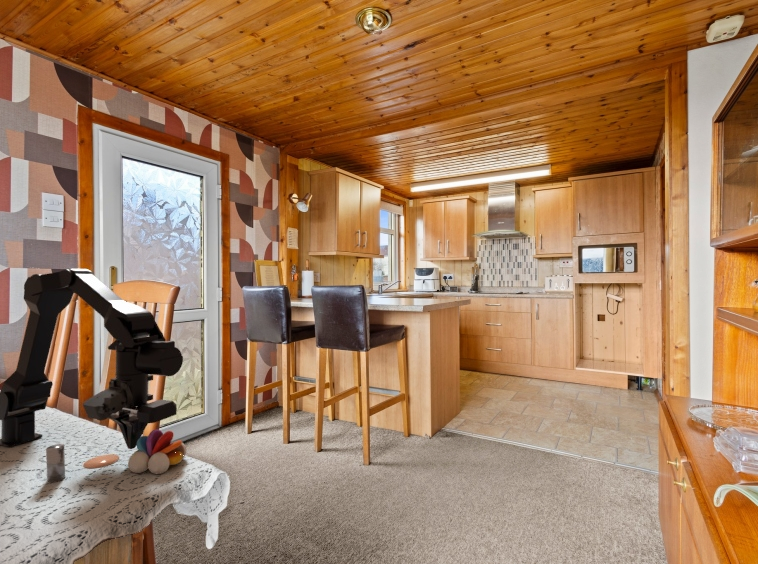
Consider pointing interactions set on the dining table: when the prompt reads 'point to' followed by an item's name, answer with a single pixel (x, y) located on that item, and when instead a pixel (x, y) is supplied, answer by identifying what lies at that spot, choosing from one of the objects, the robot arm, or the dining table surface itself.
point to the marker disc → (101, 461)
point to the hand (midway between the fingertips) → (131, 448)
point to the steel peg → (55, 463)
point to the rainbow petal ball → (156, 453)
